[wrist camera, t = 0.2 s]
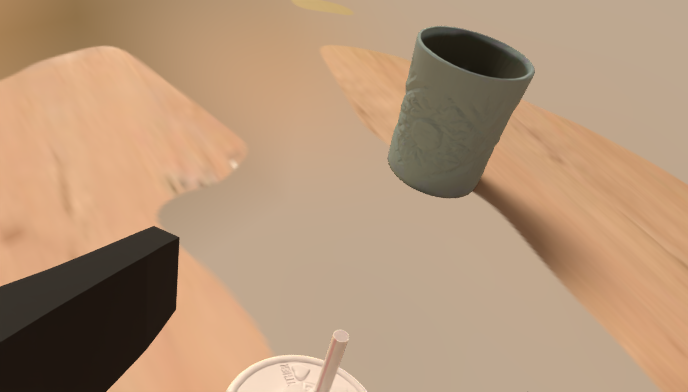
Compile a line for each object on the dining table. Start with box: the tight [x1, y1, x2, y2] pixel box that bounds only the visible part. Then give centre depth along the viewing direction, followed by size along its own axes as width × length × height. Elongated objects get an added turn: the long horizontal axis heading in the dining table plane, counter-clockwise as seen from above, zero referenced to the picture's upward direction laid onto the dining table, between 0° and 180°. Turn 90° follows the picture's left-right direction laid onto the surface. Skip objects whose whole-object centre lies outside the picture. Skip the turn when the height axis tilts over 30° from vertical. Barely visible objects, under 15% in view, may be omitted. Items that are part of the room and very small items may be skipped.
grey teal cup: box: [388, 26, 535, 198], centre depth 58 cm, size 10×10×12 cm
